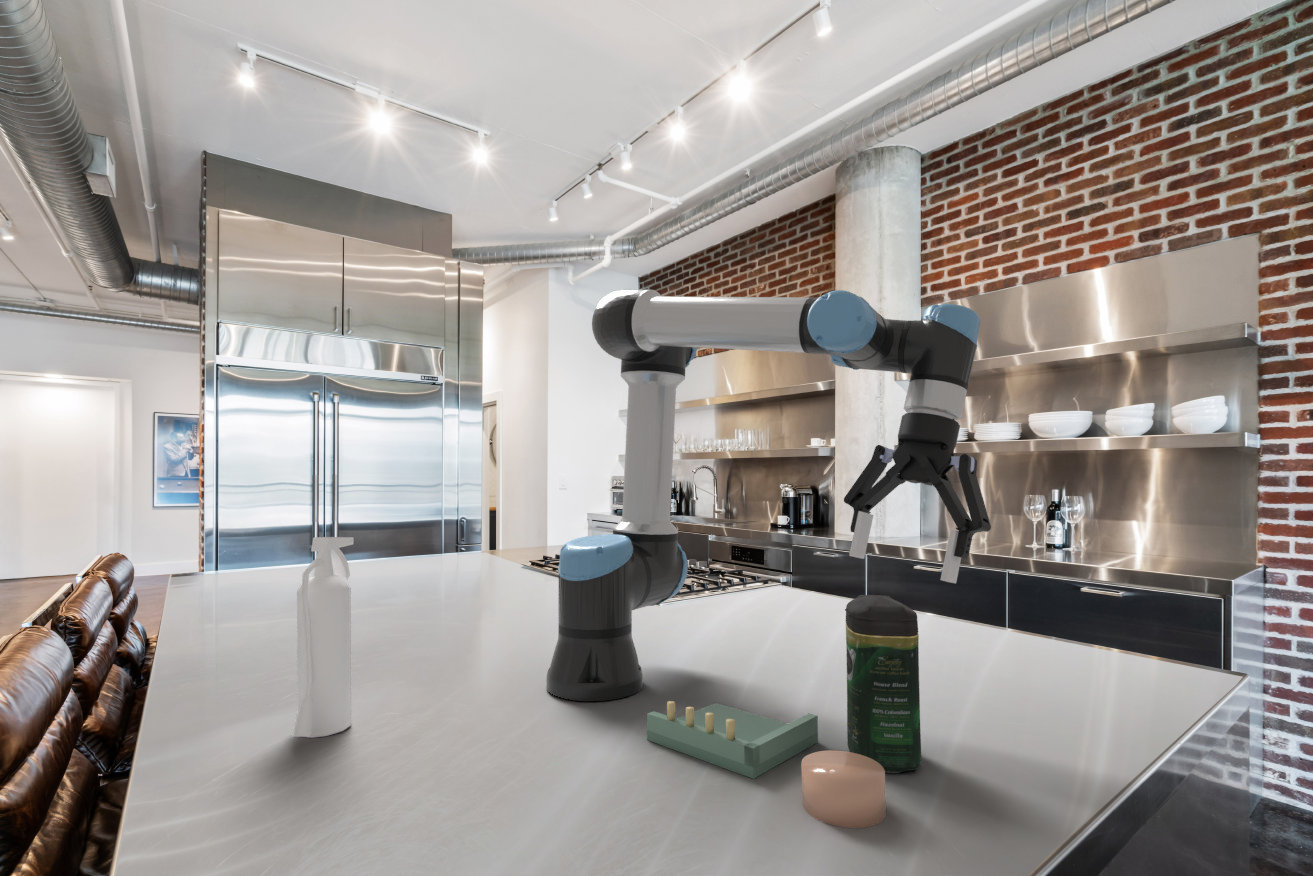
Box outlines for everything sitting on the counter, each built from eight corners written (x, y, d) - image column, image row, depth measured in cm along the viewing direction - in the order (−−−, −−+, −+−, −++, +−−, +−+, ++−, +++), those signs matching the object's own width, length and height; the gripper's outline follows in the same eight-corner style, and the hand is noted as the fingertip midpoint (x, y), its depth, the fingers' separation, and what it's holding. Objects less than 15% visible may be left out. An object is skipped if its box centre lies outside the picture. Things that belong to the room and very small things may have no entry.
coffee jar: (930, 778, 71) (925, 605, 73) (855, 773, 72) (851, 603, 74) (909, 743, 81) (905, 591, 82) (843, 740, 82) (840, 589, 83)
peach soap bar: (786, 809, 65) (786, 767, 65) (826, 782, 71) (825, 744, 71) (863, 838, 59) (862, 793, 60) (899, 807, 65) (898, 765, 65)
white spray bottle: (262, 749, 79) (271, 540, 80) (320, 714, 91) (327, 533, 93) (316, 751, 78) (324, 540, 80) (367, 715, 90) (373, 533, 92)
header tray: (647, 739, 82) (647, 697, 82) (715, 711, 92) (715, 673, 92) (753, 778, 71) (753, 729, 71) (817, 742, 81) (817, 699, 82)
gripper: (1039, 430, 83) (1006, 596, 81) (867, 418, 102) (838, 551, 100) (1014, 415, 78) (979, 591, 76) (839, 405, 97) (809, 545, 96)
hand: (899, 569), depth 88 cm, fingers open, 13 cm apart
